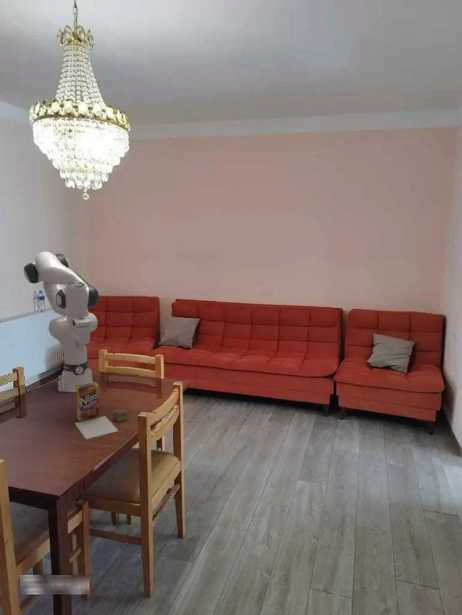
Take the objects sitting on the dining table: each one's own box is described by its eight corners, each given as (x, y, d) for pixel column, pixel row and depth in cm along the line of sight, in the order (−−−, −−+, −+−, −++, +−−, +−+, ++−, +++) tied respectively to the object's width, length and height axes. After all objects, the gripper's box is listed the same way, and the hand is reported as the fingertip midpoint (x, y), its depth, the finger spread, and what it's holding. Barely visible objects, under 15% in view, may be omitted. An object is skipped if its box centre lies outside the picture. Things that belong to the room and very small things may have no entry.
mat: (74, 424, 182) (74, 423, 182) (105, 417, 189) (105, 416, 189) (86, 439, 168) (86, 438, 168) (118, 431, 175) (118, 430, 175)
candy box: (79, 422, 184) (77, 388, 181) (76, 418, 188) (74, 385, 185) (99, 417, 189) (98, 384, 186) (97, 414, 192) (95, 381, 190)
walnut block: (113, 419, 187) (112, 411, 186) (120, 417, 190) (120, 408, 189) (118, 422, 184) (118, 413, 184) (126, 419, 187) (126, 410, 187)
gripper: (64, 315, 194) (66, 345, 197) (76, 323, 178) (78, 356, 180) (79, 314, 198) (80, 343, 200) (92, 322, 181) (93, 353, 183)
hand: (79, 349), depth 190 cm, fingers open, 5 cm apart
